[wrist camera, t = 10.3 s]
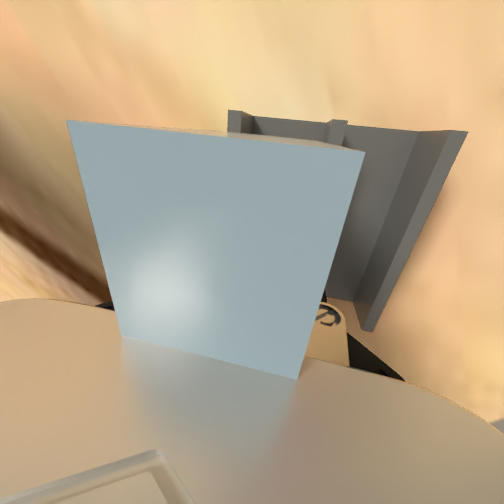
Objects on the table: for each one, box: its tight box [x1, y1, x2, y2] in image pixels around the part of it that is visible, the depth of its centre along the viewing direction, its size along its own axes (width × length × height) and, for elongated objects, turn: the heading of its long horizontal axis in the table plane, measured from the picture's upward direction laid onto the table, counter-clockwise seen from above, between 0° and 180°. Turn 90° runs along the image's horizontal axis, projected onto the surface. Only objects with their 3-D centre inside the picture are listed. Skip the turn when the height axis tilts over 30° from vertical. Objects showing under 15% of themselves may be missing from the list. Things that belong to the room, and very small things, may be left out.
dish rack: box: [227, 110, 468, 332], centre depth 17 cm, size 14×14×4 cm
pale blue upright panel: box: [66, 120, 365, 380], centre depth 9 cm, size 12×3×10 cm, turn 175°
